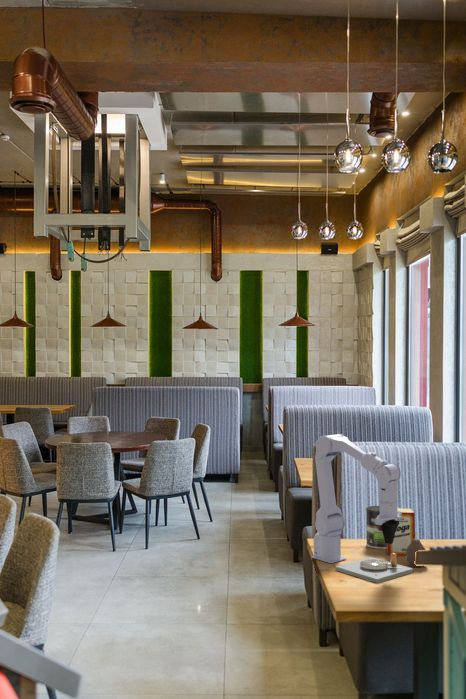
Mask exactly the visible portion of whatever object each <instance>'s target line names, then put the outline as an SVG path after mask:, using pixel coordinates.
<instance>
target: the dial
mask: <svg viewBox="0 0 466 699" xmlns="http://www.w3.org/2000/svg"><path fill="white" fill-rule="evenodd" d="M381 560H382V559H380V560H373V559H371V560H363V561H361V562H360V567H361V568H363V569H366V570H373V571H379V570H385V569H387V568H388V566H391V567H397V564H398V556H397V553H391V556H390V562H391V563H387V562H385V561H386V560H384V561H381Z"/></svg>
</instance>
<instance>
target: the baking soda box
mask: <svg viewBox="0 0 466 699" xmlns="http://www.w3.org/2000/svg"><path fill="white" fill-rule="evenodd" d="M398 511H401V512H402V517H401V518H400V519H395V520H396V521H399V525H398V527H397V529H396V532H395V536H394V540H393V543H392V544H387V549H386V553H387V556H389V557H391V553H397V557H406V550H407V547H408V546H409V545H410V543H411V542H412V540H413V539H416V529H415V528H416V524H415V523H416V518H415V516H416V515H415V511H414V509H413V508H400V507H398Z"/></svg>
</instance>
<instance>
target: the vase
mask: <svg viewBox="0 0 466 699" xmlns="http://www.w3.org/2000/svg"><path fill="white" fill-rule="evenodd" d="M418 550H426V548H425V546H424V545H423V544H422V542H421V540H420V539H418V538H415V539H413V540H412V542H411V543H410V545H409V546H408V547H407V550H406V556H405V559H406V561H407V564H408V565H409V566H410V567H412V566H413V568H423V566H421V567H420V566H416V565H415V564H414V561H415V552H416V551H418Z"/></svg>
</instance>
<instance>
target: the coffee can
mask: <svg viewBox="0 0 466 699" xmlns="http://www.w3.org/2000/svg"><path fill="white" fill-rule="evenodd" d="M365 512H366V546H367V547H368V548H371V549H377V550H387V543H385V540H384V536H383V532H382V530H381V528H380V526H379V525H376V524H375V518H377V517H378V516H379V514H380V505H370V506H367V507H365Z"/></svg>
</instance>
